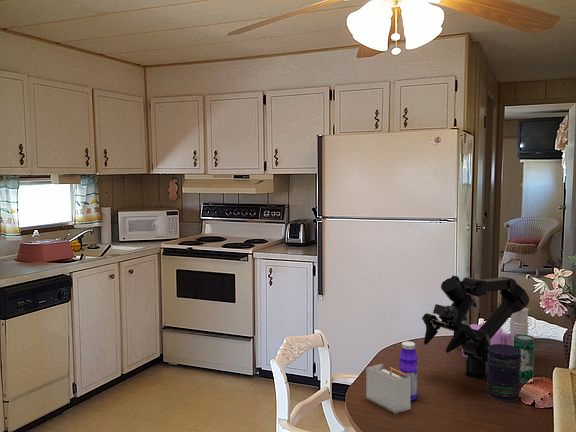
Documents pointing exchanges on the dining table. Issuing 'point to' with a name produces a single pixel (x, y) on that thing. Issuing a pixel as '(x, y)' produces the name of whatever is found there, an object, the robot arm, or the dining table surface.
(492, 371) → the storage jar
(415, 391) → the bottle
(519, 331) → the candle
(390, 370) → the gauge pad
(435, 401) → the dining table surface
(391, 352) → the dining table surface
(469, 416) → the dining table surface
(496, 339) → the teakettle
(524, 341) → the can
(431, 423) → the dining table surface
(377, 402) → the grey open box
